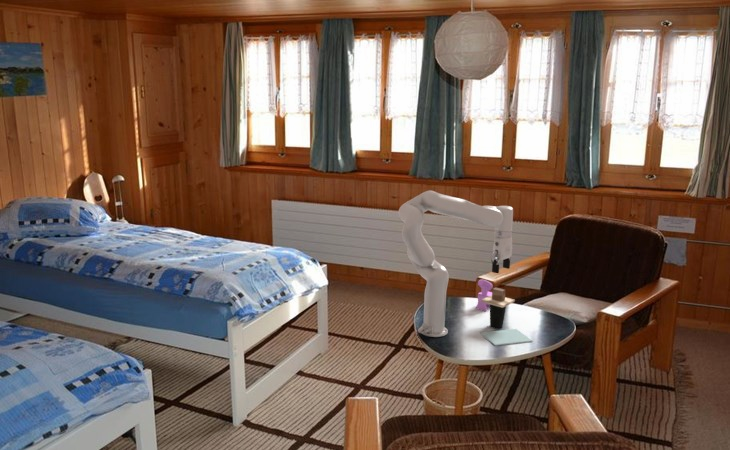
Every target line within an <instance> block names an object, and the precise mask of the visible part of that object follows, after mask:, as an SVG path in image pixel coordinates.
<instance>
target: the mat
mask: <svg viewBox="0 0 730 450" xmlns="http://www.w3.org/2000/svg"><path fill="white" fill-rule="evenodd" d="M480 335H481V336H482V337H484V338H485V339H486V340H487V341H489V342H490V343H491V344H492V345H494V346H495V347H497V346H507V345H508V346H509V345H515V344H526V343H532V342H533V340H532V339H531V338H530V337H528V336H527V335H526V334H524V333H522V332H521V331H520V330H518V329H517V328H511V329H502V330H500V329H499V330H493V331H492V330H491V331H482V332H481V331H480Z"/></svg>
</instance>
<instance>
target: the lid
mask: <svg viewBox="0 0 730 450" xmlns="http://www.w3.org/2000/svg"><path fill="white" fill-rule="evenodd" d="M491 292H492V295H491V296H489V297H487V298H484V299H482V300H481V302H484V303H487V304H491V305H495V306H498V307H502V308H503V307H505V306H506V307H507V306H509V305H511V304H513V303H515V302H516V299H513V298H510V297H506V289H503V288H500V287H492V289H491Z"/></svg>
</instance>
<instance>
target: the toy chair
mask: <svg viewBox="0 0 730 450" xmlns="http://www.w3.org/2000/svg"><path fill="white" fill-rule="evenodd" d="M477 286H479V287H480V289H481V292H478V293H477V303H476V306H475V309H478V310H481V311H485V312H488V311H487V306H488V307H490V304H487V303H484V302H481V300H482V299H484V298H487V297H489V296H491V295H492V289H493V288H494V287H493V283H492V282H490V281H488V280H486V279H479V280H478V281H477Z"/></svg>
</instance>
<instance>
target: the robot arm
mask: <svg viewBox="0 0 730 450" xmlns="http://www.w3.org/2000/svg"><path fill="white" fill-rule="evenodd" d="M428 211H430V212H431V213H434V214H439V215H443V216H448V217H451V218H456V219H460V220H464V221H467V222H468V221H469V222H472V223H476V224H481V225H485V226H490V227H494V240H493V245H492V246H493V247H492V254H491V256H490V259H491V260H490V261H491V264H492V266H491V272H492V273H493V274H494V273H495V274H499V273H500V264H499V263H500V262H501V261H502V268H504V269H508V270H510V266H511V258H512V256H513V238H512V235H513V233H512V232H513V222H514V221H513V219H514V218H513V217H514V208H513V207H512V206H511V205H510V206H509V205H499V206H498V205H497V206H494V205H480V204H477V203H474V202H471V201H469V200H467V199H464V198H459V197H455V196H450V195H447V194H442V193H440V192H437V191H434V190H430V189H429V190H426V191H424V192H422V193H419V194H418V195H416V196H415V197H413V198H411V199H409V200H408V201H406V202H405V203H403V204H402V205H401V206H400V207H399V209H398V212H397V214H398V218H399V220H401V221H402V222H403V225H402V230H401V237H402V241H403V242H404V244H405V246H406V249H407V250H406V253H407V256H408V259H409V261H410V262H411V263H412V265H413V266H414V267H415V270H416V271H417V272H418V274H419V275H420V276H421V277H422V278H423V279H424V280H426V286H425V287H424V288H425V289H424V297H423V298H424V299H423V301H424V303H423V318H422V319H423V323H422V324H421V326H420V327H419V328H418V329H417V333H418V334H422V335H423V336H425V337H433V338H441V337H444V336H446V335H448V331H449V330H448V328H446V327H445V324H446V322H445V321H446V306H447V305H446V304H447V302H446V301H447V289H448V284H449V278H450V275H449V272H448V270H447V268H446V267H445V266H444V265H442V264H441V263H440V262H438V261H437V260H436V255H435V252H434V250H433V248H432V247H431V245H430V244H429V242H428V241H427V240H426V238H425V236H424V234H423V232H422V228H423V225H424V222H425V212H428Z"/></svg>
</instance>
